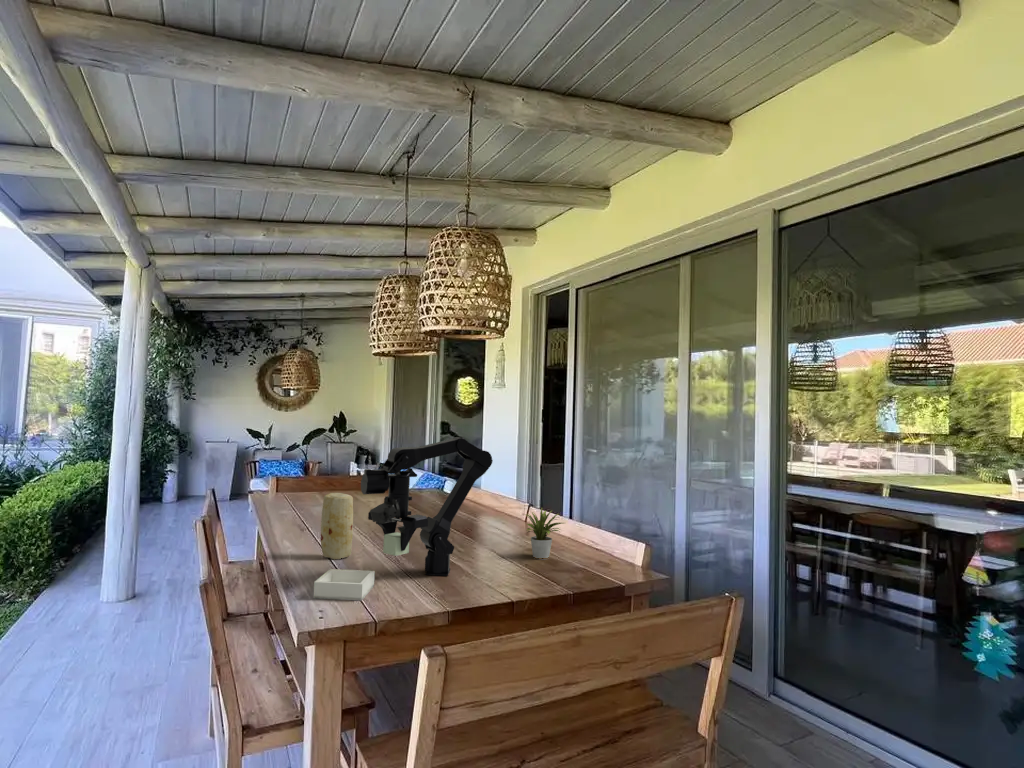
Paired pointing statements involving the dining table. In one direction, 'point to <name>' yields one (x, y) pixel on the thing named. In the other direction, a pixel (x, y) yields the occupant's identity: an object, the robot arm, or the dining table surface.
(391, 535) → the green block
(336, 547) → the food model
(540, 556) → the house plant
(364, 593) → the bin
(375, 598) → the dining table surface
